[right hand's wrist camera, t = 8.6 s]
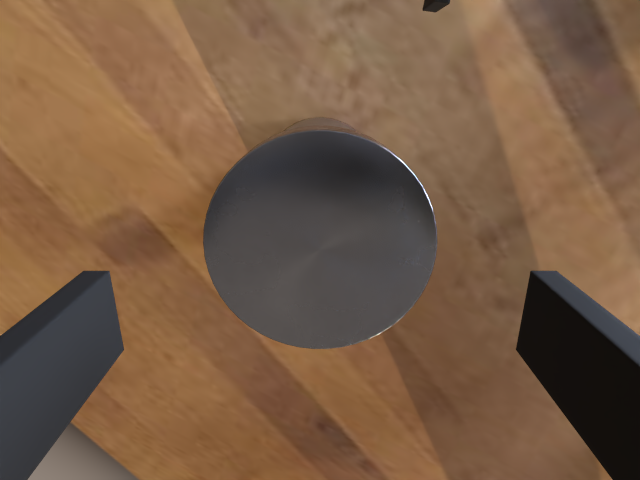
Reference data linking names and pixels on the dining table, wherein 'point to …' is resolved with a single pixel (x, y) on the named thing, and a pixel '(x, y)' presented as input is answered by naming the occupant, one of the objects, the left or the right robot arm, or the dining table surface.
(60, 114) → the dining table surface
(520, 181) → the dining table surface
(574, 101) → the dining table surface
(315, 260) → the lid
